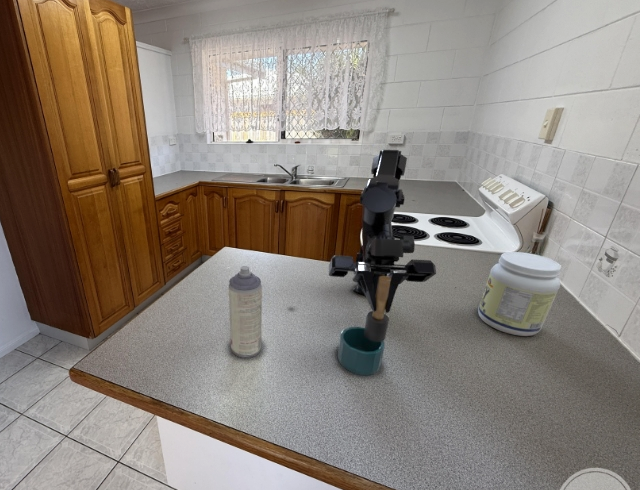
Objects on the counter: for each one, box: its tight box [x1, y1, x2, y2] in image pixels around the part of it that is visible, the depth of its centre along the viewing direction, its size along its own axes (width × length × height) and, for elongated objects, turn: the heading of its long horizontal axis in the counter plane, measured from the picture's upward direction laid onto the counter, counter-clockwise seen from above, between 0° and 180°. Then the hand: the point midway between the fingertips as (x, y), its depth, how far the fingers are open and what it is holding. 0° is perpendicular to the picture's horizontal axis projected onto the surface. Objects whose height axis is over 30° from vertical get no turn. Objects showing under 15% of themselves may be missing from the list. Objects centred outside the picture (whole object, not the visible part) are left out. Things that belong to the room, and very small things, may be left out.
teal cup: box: [337, 326, 385, 376], centre depth 65 cm, size 8×8×6 cm
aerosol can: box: [228, 265, 263, 359], centre depth 66 cm, size 7×7×20 cm
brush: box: [364, 276, 391, 342], centre depth 60 cm, size 4×4×13 cm
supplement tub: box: [477, 251, 562, 337], centre depth 74 cm, size 12×12×17 cm
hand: (381, 311), depth 59 cm, fingers closed on brush, 2 cm apart
